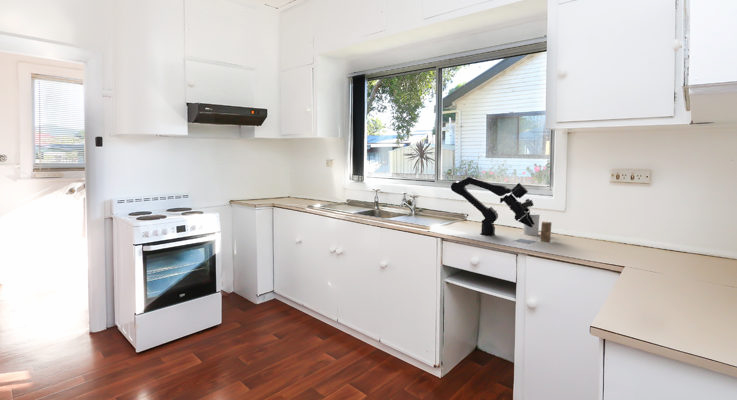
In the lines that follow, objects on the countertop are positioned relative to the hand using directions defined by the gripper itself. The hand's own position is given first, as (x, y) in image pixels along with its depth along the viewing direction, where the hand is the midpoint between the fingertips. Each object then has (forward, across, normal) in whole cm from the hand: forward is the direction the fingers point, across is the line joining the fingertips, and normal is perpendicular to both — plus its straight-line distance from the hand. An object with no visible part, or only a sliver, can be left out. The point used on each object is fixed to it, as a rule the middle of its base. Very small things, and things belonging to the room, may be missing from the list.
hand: (533, 225), depth 221 cm
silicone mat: (+4, -7, +8) cm, 11 cm away
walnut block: (+10, 0, +1) cm, 10 cm away
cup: (+4, +16, +7) cm, 18 cm away
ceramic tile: (+10, 0, +1) cm, 10 cm away
